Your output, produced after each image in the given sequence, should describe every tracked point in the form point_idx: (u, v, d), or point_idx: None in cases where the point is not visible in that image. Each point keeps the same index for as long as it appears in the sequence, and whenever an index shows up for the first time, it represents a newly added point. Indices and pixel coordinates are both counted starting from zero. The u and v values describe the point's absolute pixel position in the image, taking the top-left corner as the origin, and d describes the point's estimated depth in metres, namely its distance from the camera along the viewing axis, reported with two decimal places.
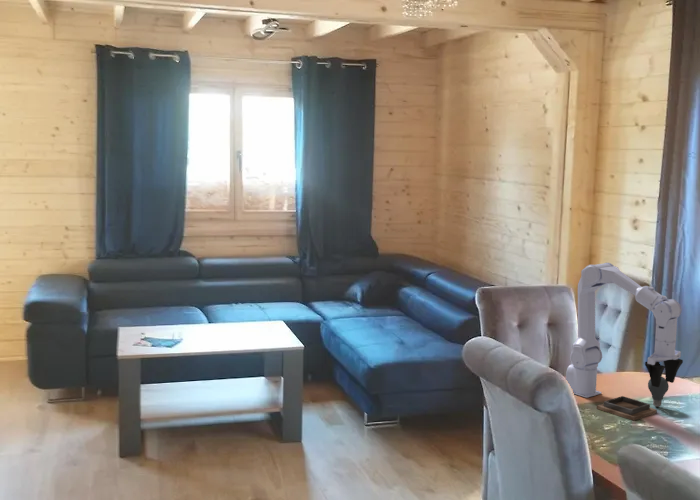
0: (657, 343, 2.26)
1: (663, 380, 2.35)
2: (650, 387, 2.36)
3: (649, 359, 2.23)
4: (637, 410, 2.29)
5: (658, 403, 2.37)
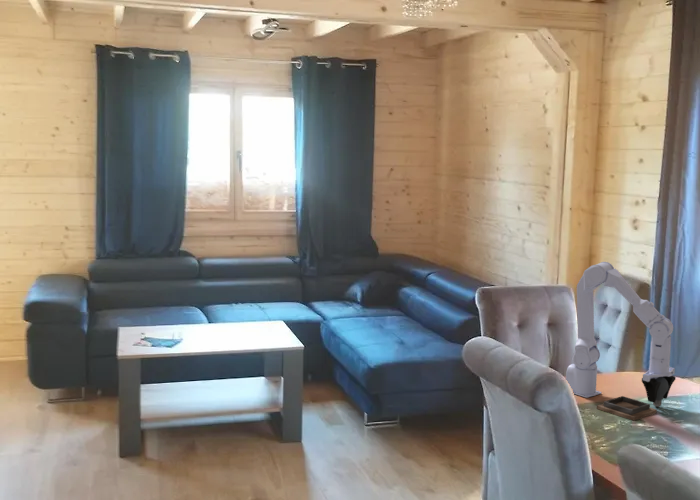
0: (652, 360, 2.35)
1: (663, 380, 2.35)
2: None
3: (644, 376, 2.33)
4: (637, 410, 2.29)
5: (658, 403, 2.37)
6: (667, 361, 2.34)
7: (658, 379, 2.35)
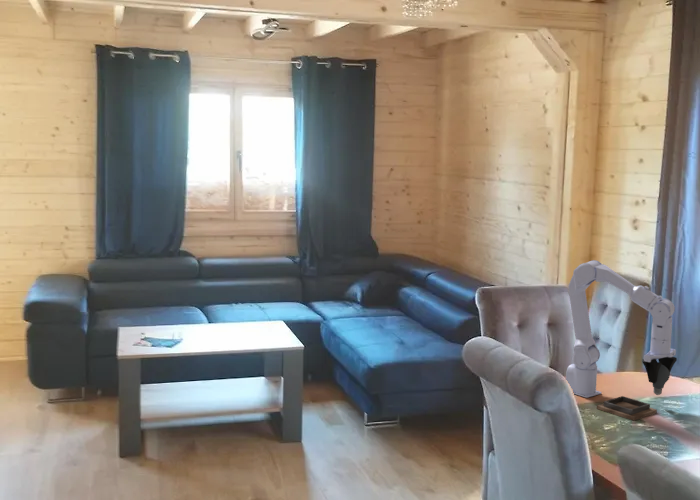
0: (653, 341, 2.35)
1: (664, 369, 2.34)
2: None
3: (645, 357, 2.32)
4: (637, 410, 2.29)
5: (659, 391, 2.37)
6: (668, 342, 2.33)
7: None
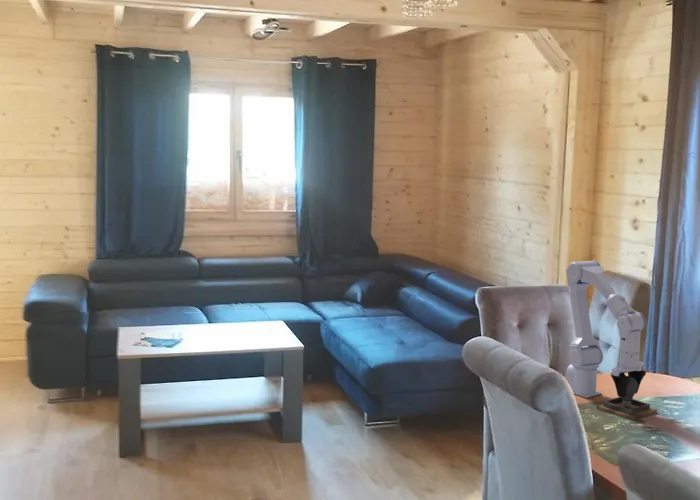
0: (621, 355, 2.31)
1: (632, 380, 2.31)
2: None
3: (613, 370, 2.29)
4: (637, 410, 2.29)
5: (628, 404, 2.33)
6: (637, 355, 2.30)
7: None
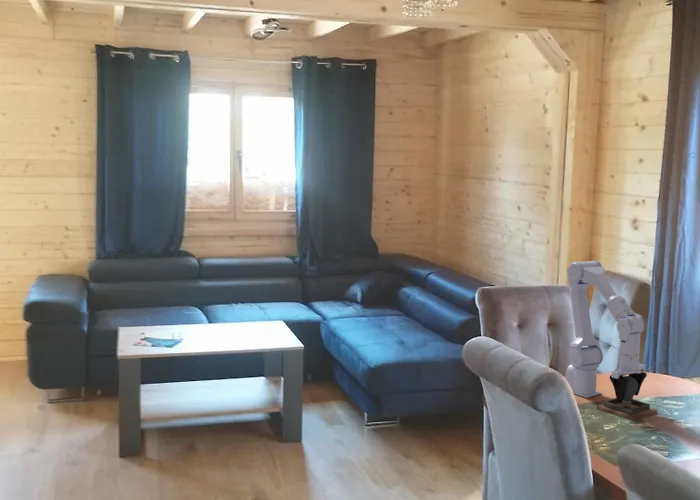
0: (621, 357, 2.31)
1: (633, 380, 2.31)
2: None
3: (613, 373, 2.29)
4: (637, 410, 2.29)
5: (628, 403, 2.33)
6: (636, 358, 2.30)
7: (628, 379, 2.32)
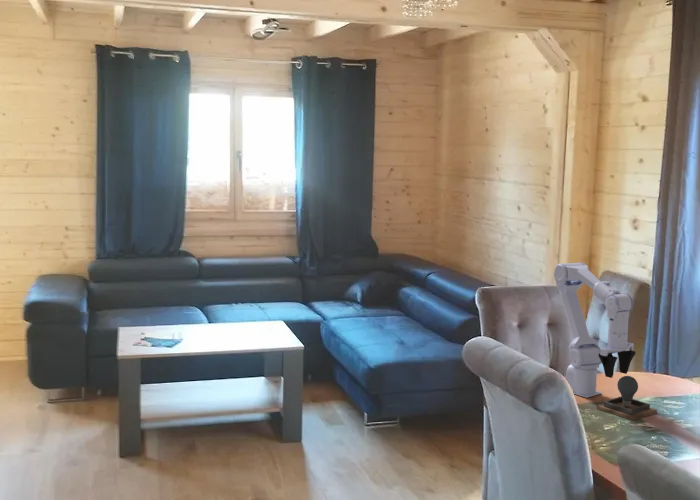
0: (610, 335, 2.34)
1: (633, 380, 2.31)
2: (620, 387, 2.32)
3: (602, 350, 2.31)
4: (637, 410, 2.29)
5: (628, 403, 2.33)
6: (625, 335, 2.33)
7: (628, 379, 2.32)
